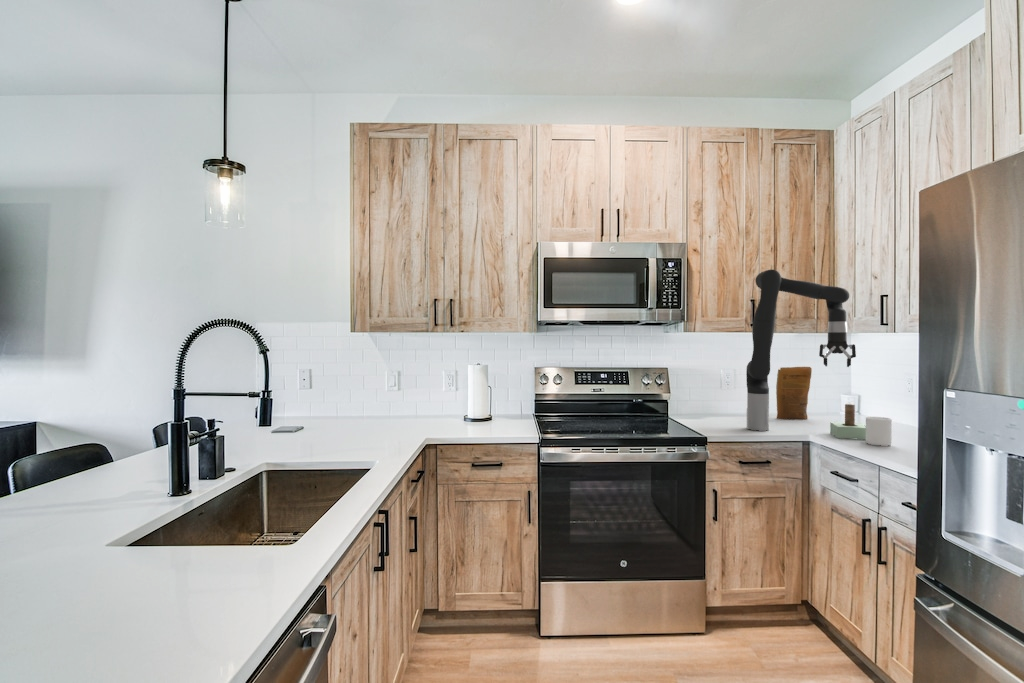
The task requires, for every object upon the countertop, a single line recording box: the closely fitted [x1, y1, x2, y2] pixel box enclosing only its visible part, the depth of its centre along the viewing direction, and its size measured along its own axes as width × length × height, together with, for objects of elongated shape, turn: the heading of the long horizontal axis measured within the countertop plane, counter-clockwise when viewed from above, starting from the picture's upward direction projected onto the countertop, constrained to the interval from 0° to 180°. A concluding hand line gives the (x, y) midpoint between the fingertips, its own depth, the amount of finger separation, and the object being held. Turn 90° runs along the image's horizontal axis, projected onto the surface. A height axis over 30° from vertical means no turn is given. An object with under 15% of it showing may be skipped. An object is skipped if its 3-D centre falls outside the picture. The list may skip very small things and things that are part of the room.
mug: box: [865, 416, 893, 447], centre depth 212 cm, size 9×12×11 cm
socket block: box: [829, 421, 866, 440], centre depth 227 cm, size 12×12×5 cm
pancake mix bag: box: [775, 366, 812, 420], centre depth 275 cm, size 7×19×28 cm, turn 88°
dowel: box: [844, 403, 856, 426], centre depth 227 cm, size 4×4×14 cm
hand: (837, 366), depth 239 cm, fingers open, 8 cm apart
